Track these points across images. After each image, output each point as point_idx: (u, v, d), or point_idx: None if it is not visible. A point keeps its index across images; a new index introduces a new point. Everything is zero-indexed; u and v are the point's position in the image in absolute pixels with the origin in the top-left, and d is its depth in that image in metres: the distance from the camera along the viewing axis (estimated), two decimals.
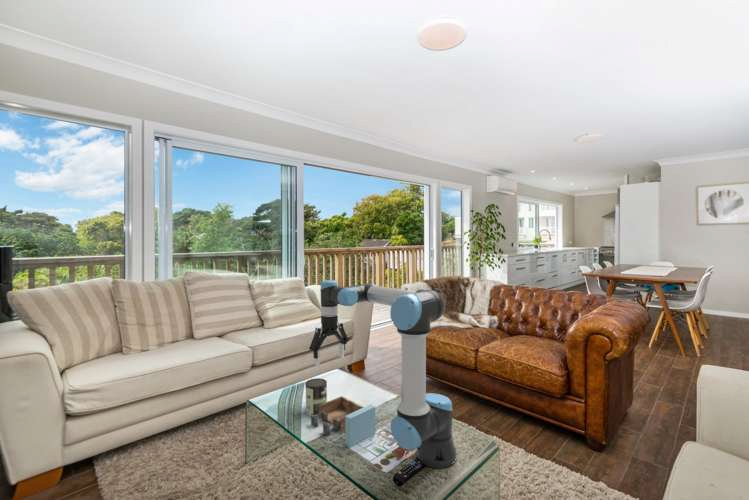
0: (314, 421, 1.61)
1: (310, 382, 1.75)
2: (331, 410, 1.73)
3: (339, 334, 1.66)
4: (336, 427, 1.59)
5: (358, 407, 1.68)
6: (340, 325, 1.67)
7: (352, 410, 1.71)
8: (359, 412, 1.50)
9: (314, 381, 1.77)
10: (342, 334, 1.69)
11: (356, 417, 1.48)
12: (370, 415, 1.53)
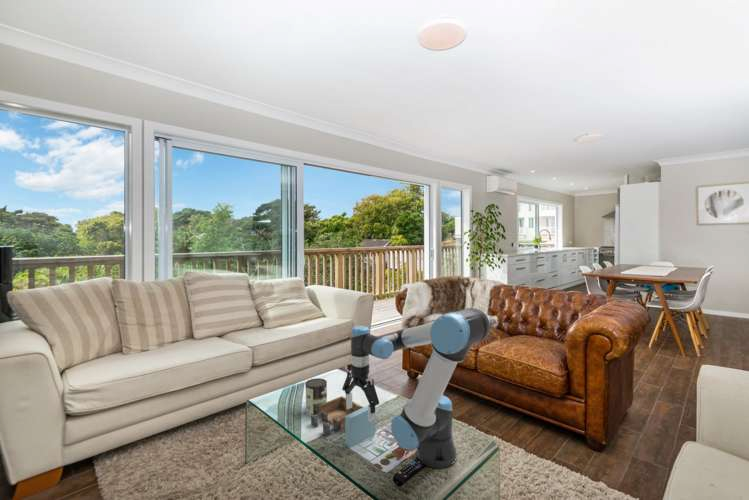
0: (314, 421, 1.61)
1: (310, 382, 1.75)
2: (331, 410, 1.73)
3: (365, 391, 1.46)
4: (336, 427, 1.59)
5: (358, 407, 1.68)
6: None
7: (352, 410, 1.71)
8: (359, 412, 1.50)
9: (314, 381, 1.77)
10: None
11: (356, 417, 1.48)
12: None
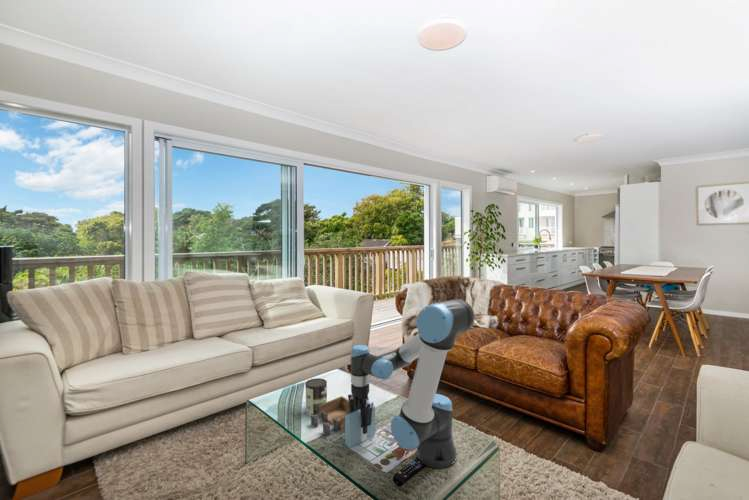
0: (314, 421, 1.61)
1: (310, 382, 1.75)
2: (331, 410, 1.73)
3: (362, 412, 1.48)
4: (336, 427, 1.59)
5: None
6: None
7: None
8: (359, 412, 1.50)
9: (314, 381, 1.77)
10: None
11: (356, 417, 1.48)
12: None
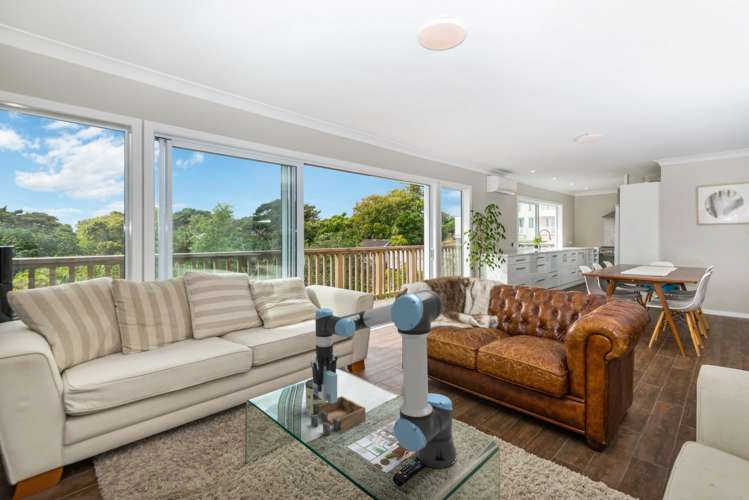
0: (314, 421, 1.61)
1: (310, 382, 1.75)
2: (331, 410, 1.73)
3: (330, 368, 1.61)
4: (336, 427, 1.59)
5: (358, 407, 1.68)
6: (335, 357, 1.63)
7: (352, 410, 1.71)
8: (326, 370, 1.60)
9: None
10: (332, 368, 1.63)
11: None
12: None
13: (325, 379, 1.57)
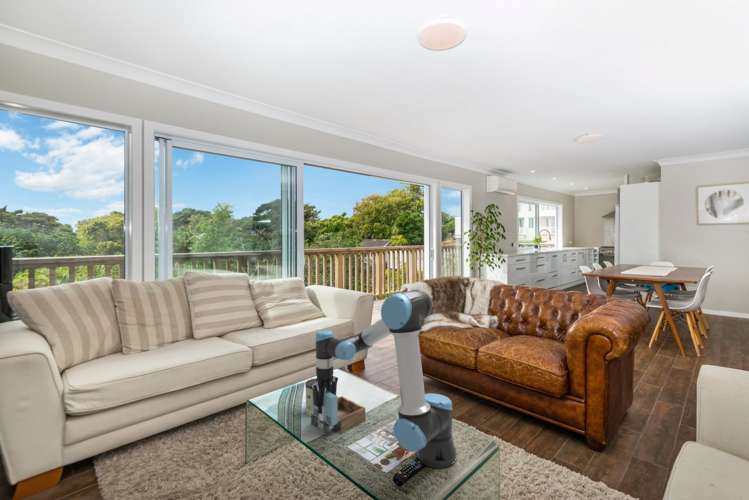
0: (314, 421, 1.61)
1: (310, 382, 1.75)
2: None
3: (331, 389, 1.61)
4: (336, 427, 1.59)
5: (358, 407, 1.68)
6: (335, 379, 1.63)
7: (352, 410, 1.71)
8: (327, 392, 1.60)
9: (314, 381, 1.77)
10: (332, 389, 1.63)
11: None
12: None
13: (326, 401, 1.57)
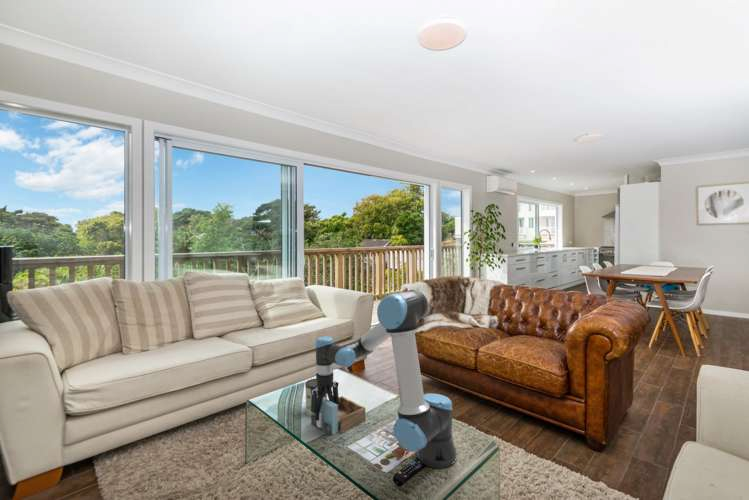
0: (314, 421, 1.61)
1: (310, 382, 1.75)
2: None
3: (332, 394, 1.62)
4: None
5: (358, 407, 1.68)
6: (335, 384, 1.63)
7: (352, 410, 1.71)
8: (327, 401, 1.60)
9: (314, 381, 1.77)
10: (334, 394, 1.64)
11: None
12: None
13: (326, 410, 1.58)
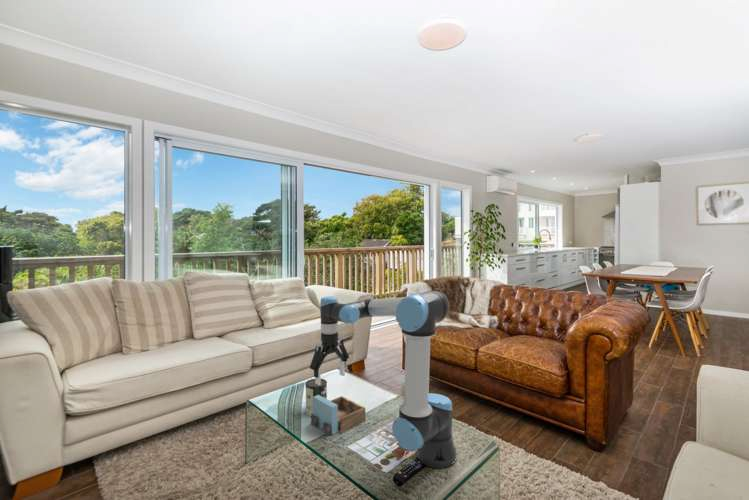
0: (314, 421, 1.61)
1: (310, 382, 1.75)
2: None
3: (339, 351, 1.63)
4: None
5: (358, 407, 1.68)
6: (340, 342, 1.64)
7: (352, 410, 1.71)
8: (327, 401, 1.60)
9: (314, 381, 1.77)
10: (342, 351, 1.65)
11: None
12: None
13: (326, 410, 1.58)
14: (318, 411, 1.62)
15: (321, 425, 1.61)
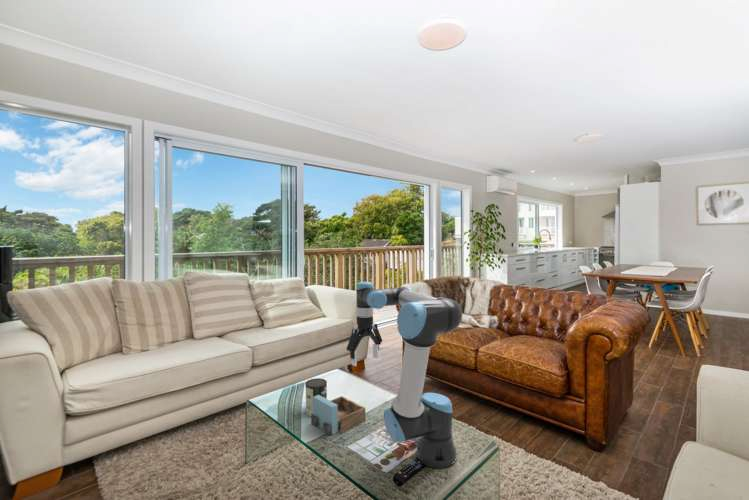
0: (314, 421, 1.61)
1: (310, 382, 1.75)
2: None
3: (374, 335, 1.69)
4: None
5: (358, 407, 1.68)
6: (374, 326, 1.70)
7: (352, 410, 1.71)
8: (327, 401, 1.60)
9: (314, 381, 1.77)
10: (376, 335, 1.72)
11: None
12: None
13: (326, 410, 1.58)
14: (318, 411, 1.62)
15: (321, 425, 1.61)
